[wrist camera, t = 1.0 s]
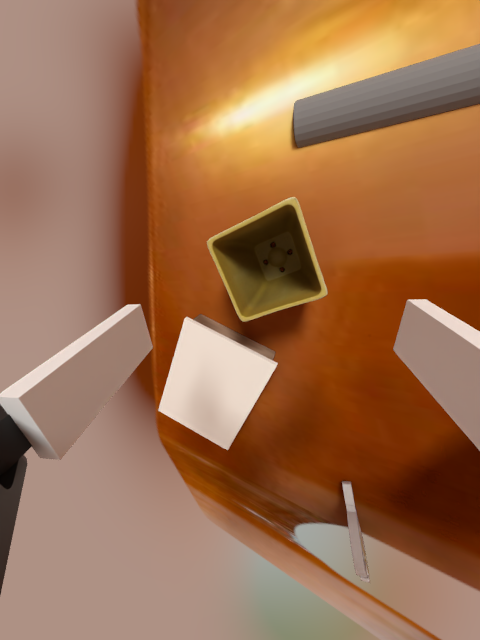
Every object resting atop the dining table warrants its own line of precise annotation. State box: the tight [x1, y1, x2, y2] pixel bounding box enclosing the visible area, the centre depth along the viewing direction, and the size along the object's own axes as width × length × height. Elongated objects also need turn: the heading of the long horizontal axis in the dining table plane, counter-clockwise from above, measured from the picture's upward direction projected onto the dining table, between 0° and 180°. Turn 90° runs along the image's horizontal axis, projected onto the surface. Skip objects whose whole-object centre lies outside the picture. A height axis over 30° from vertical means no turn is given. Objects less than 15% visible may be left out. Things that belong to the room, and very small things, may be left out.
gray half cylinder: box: [293, 44, 480, 148], centre depth 20 cm, size 4×20×2 cm, turn 98°
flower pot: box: [207, 197, 327, 322], centre depth 24 cm, size 9×9×9 cm
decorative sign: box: [342, 481, 370, 582], centre depth 38 cm, size 18×1×10 cm, turn 18°
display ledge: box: [158, 314, 278, 450], centre depth 37 cm, size 14×20×4 cm
